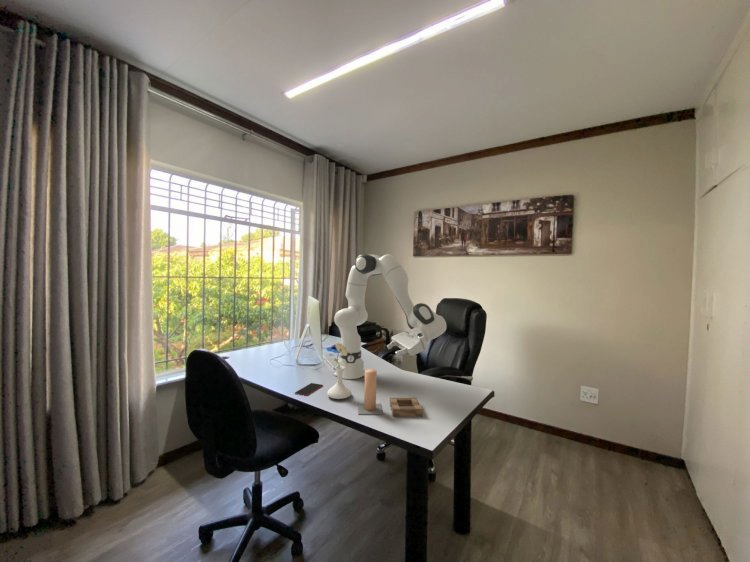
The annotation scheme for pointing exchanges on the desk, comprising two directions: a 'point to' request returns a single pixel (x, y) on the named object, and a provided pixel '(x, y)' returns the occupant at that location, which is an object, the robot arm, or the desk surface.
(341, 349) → the flower in vase
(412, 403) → the holder
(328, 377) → the desk surface
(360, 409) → the mat
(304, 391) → the smartphone
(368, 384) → the peg
